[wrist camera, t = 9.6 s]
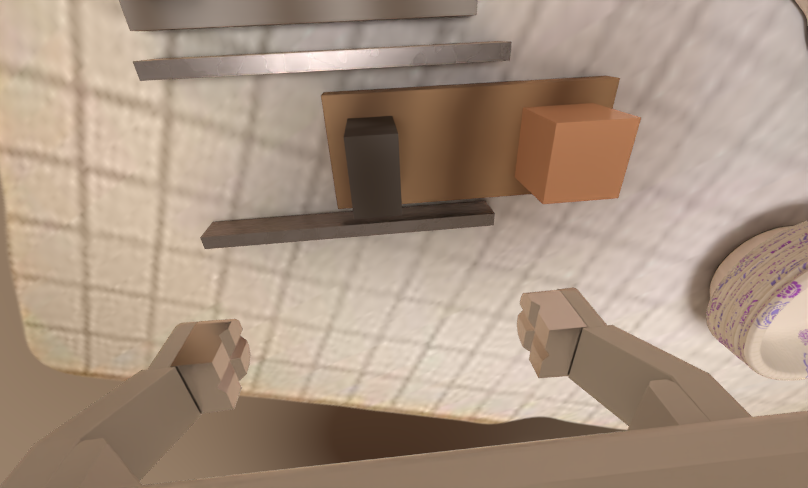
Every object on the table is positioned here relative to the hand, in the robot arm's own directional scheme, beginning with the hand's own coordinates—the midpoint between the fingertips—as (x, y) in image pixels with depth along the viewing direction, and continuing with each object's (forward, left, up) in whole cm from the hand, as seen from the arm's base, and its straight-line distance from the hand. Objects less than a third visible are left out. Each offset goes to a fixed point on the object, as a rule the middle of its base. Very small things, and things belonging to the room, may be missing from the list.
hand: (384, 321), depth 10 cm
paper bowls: (-38, +15, -19) cm, 45 cm away
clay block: (-13, 0, -17) cm, 22 cm away
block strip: (-7, 0, -19) cm, 20 cm away
